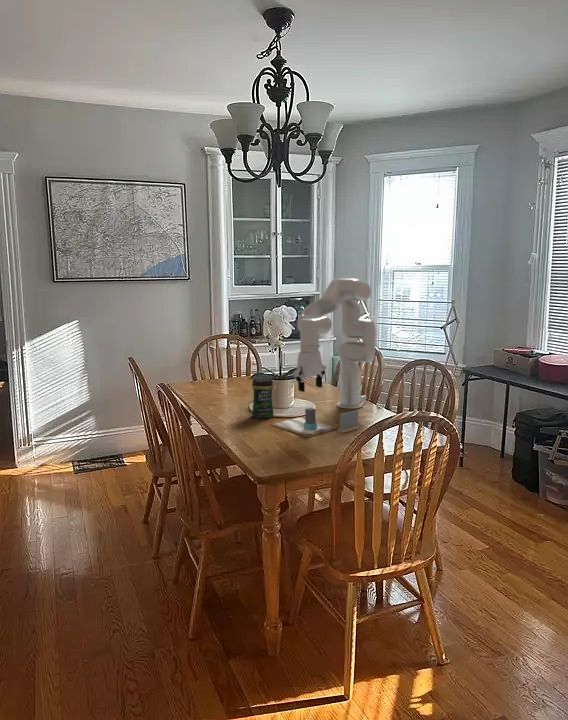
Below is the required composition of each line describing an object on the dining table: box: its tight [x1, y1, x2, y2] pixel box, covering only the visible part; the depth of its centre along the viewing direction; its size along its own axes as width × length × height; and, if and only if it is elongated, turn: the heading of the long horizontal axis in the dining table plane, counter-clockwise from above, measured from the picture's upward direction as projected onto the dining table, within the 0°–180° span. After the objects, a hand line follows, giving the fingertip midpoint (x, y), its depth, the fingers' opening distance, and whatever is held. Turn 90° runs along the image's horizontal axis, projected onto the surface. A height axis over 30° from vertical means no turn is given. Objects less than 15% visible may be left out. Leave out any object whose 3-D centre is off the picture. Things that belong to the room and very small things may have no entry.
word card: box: [337, 409, 361, 434], centre depth 245 cm, size 10×3×8 cm, turn 129°
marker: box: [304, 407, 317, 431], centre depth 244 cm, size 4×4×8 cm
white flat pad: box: [271, 416, 338, 439], centre depth 250 cm, size 17×23×2 cm
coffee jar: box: [251, 376, 274, 419], centre depth 265 cm, size 10×8×19 cm
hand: (310, 389), depth 243 cm, fingers open, 9 cm apart
